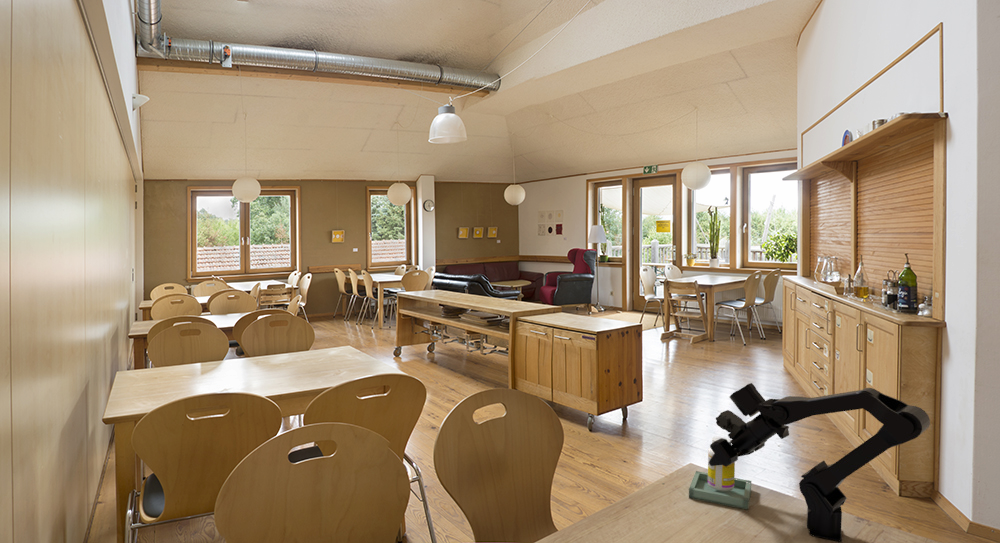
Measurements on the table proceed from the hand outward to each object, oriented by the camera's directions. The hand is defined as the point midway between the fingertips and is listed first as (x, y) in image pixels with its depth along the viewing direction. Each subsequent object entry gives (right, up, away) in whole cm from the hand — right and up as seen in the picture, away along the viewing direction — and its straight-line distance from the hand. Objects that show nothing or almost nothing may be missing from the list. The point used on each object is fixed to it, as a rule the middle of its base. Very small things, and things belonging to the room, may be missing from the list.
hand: (716, 460), depth 154 cm
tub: (+1, -9, 0) cm, 9 cm away
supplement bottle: (+1, -7, -1) cm, 7 cm away
